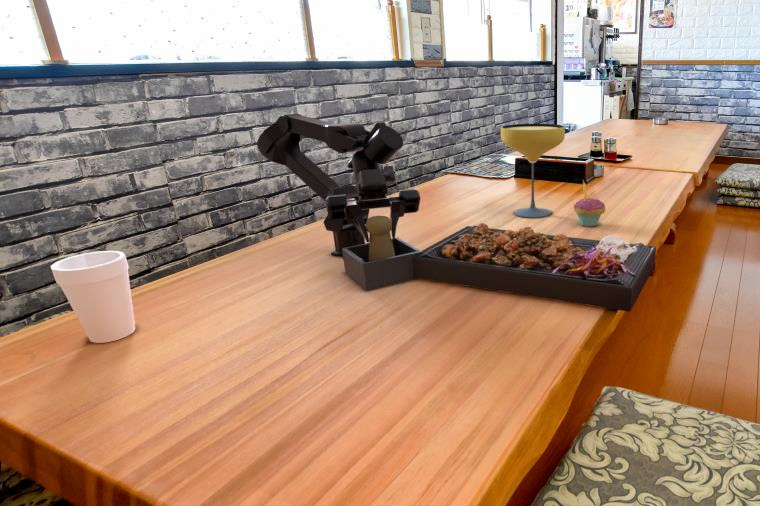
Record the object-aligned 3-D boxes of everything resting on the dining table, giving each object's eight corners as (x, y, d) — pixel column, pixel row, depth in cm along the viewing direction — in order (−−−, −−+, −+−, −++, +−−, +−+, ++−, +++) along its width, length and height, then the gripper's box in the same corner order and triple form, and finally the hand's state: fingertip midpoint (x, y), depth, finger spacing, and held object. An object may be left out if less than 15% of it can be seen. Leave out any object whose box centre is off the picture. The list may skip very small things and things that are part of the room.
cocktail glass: (540, 203, 169) (540, 122, 160) (575, 215, 155) (578, 126, 146) (491, 211, 161) (489, 126, 151) (523, 224, 146) (523, 131, 137)
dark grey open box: (345, 272, 113) (341, 247, 111) (400, 260, 120) (397, 237, 118) (366, 291, 104) (363, 264, 102) (424, 276, 110) (422, 251, 108)
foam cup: (92, 353, 82) (65, 275, 77) (66, 338, 87) (39, 264, 82) (157, 328, 90) (136, 256, 85) (130, 316, 94) (109, 247, 89)
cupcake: (569, 226, 144) (570, 182, 139) (578, 218, 151) (579, 176, 147) (600, 229, 141) (603, 184, 136) (607, 221, 148) (610, 178, 144)
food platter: (654, 266, 113) (658, 219, 109) (630, 311, 92) (634, 255, 88) (467, 243, 130) (466, 202, 126) (411, 277, 109) (407, 228, 105)
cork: (390, 273, 108) (385, 221, 104) (363, 271, 109) (357, 220, 105) (402, 263, 114) (397, 213, 109) (376, 261, 115) (370, 212, 111)
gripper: (320, 155, 103) (331, 224, 98) (415, 149, 109) (430, 214, 104) (323, 187, 113) (333, 252, 107) (410, 180, 119) (424, 241, 113)
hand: (381, 239), depth 108 cm, fingers closed on cork, 5 cm apart
